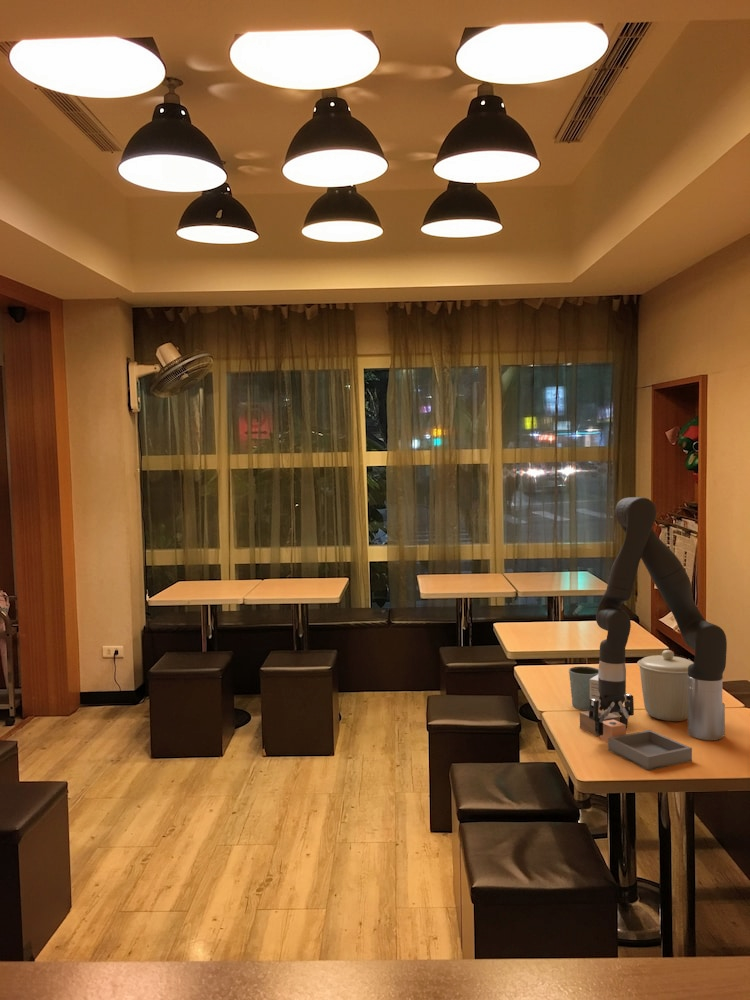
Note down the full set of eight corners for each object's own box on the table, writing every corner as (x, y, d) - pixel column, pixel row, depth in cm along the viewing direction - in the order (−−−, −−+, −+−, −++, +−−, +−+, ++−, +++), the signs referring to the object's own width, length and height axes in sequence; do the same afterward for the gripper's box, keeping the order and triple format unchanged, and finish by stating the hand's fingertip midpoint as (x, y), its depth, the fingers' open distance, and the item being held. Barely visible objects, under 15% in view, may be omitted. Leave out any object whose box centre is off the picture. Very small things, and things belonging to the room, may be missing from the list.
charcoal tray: (649, 742, 202) (649, 729, 201) (691, 761, 188) (691, 748, 188) (608, 750, 196) (608, 737, 196) (648, 770, 182) (648, 757, 182)
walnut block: (600, 724, 217) (600, 708, 217) (619, 733, 209) (619, 716, 209) (579, 728, 214) (579, 711, 213) (597, 737, 206) (597, 720, 206)
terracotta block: (613, 736, 207) (613, 719, 206) (625, 742, 202) (625, 724, 202) (599, 738, 205) (599, 721, 204) (612, 744, 200) (612, 727, 200)
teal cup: (604, 710, 229) (604, 674, 229) (573, 710, 229) (573, 674, 229) (595, 701, 239) (595, 665, 239) (565, 701, 239) (565, 666, 239)
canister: (681, 730, 211) (681, 660, 210) (626, 715, 224) (626, 649, 224) (709, 717, 222) (710, 650, 221) (655, 703, 236) (655, 640, 235)
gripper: (622, 670, 209) (621, 725, 210) (583, 675, 204) (582, 731, 204) (640, 677, 202) (640, 733, 203) (601, 682, 197) (600, 740, 197)
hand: (611, 732), depth 203 cm, fingers open, 8 cm apart
